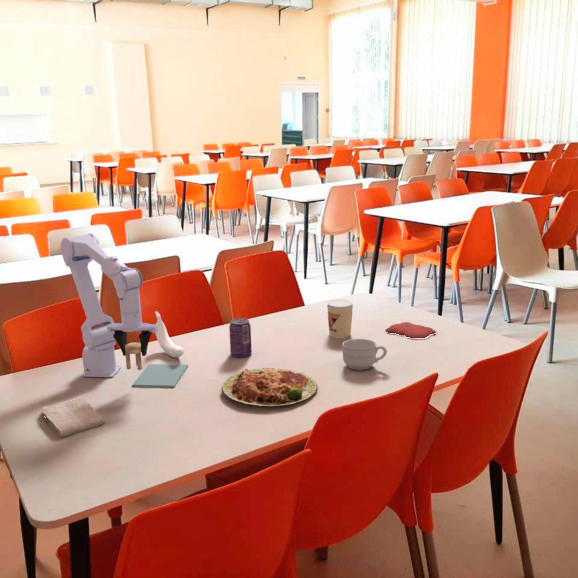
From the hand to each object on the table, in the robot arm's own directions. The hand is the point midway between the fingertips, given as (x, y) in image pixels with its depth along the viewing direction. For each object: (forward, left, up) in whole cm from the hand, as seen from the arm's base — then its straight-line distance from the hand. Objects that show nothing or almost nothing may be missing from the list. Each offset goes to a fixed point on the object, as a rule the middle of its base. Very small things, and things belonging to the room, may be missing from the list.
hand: (134, 354), depth 182 cm
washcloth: (-11, -21, -11) cm, 26 cm away
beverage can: (+27, +27, -11) cm, 40 cm away
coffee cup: (+60, +48, -11) cm, 78 cm away
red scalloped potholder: (+86, +52, -11) cm, 101 cm away
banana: (+3, +25, -11) cm, 27 cm away
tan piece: (0, 0, -4) cm, 4 cm away
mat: (+5, +8, -10) cm, 14 cm away
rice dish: (+40, 0, -11) cm, 41 cm away
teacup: (+68, +18, -11) cm, 71 cm away
